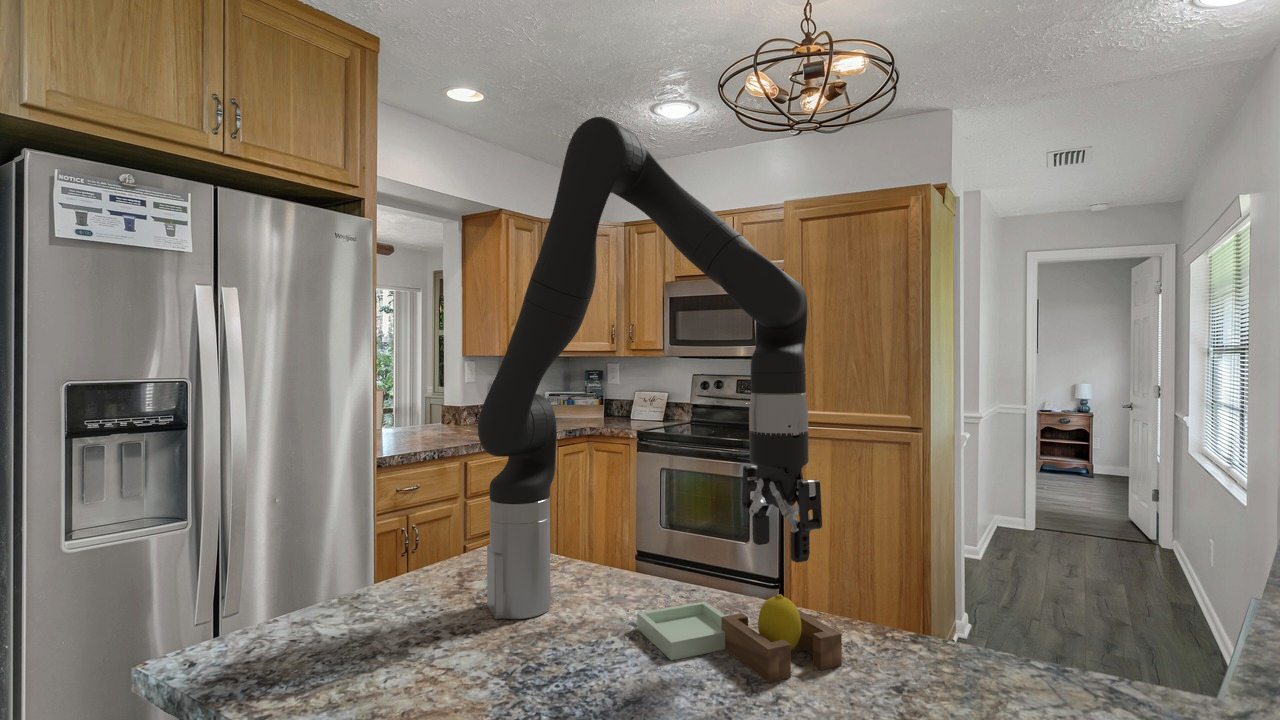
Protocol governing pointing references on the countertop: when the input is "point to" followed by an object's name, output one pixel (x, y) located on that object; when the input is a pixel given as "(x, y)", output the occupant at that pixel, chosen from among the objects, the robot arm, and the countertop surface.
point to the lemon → (780, 621)
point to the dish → (684, 629)
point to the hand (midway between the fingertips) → (779, 552)
